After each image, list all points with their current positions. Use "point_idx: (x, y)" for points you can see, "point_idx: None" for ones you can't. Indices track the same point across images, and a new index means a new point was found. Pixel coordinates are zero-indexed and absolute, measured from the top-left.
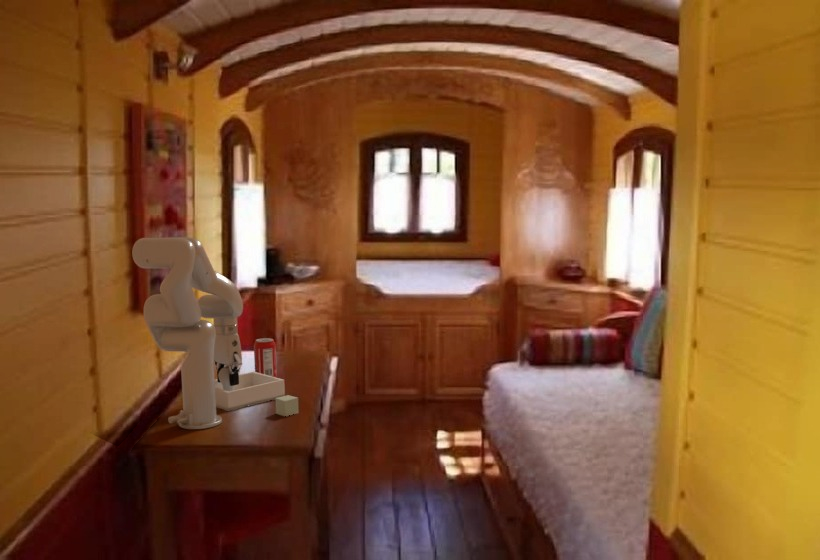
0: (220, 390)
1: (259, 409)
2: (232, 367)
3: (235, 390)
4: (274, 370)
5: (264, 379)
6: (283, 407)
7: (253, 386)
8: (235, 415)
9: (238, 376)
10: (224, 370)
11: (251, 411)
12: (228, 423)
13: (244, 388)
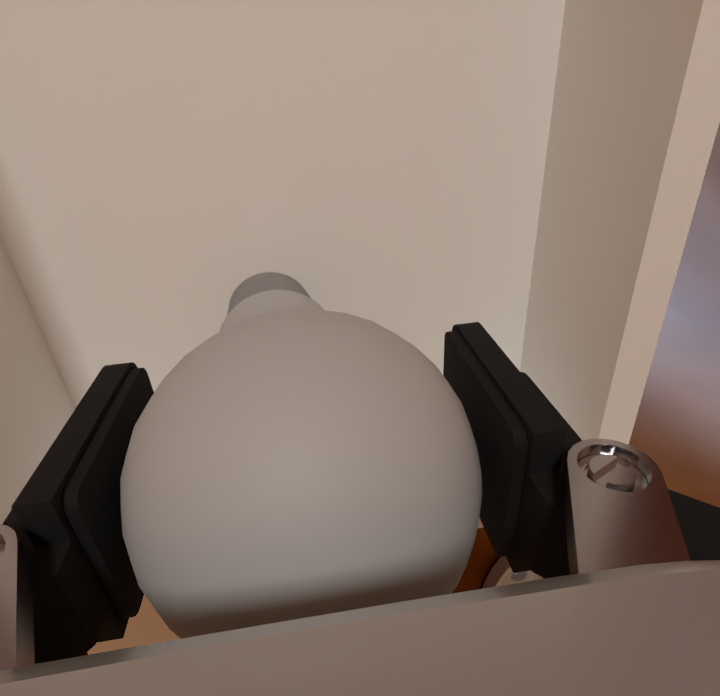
0: (480, 526)
1: (704, 199)
2: (379, 541)
3: (616, 430)
4: None
5: None
6: None
7: (686, 179)
8: (643, 402)
9: (527, 384)
10: None
11: (680, 278)
12: (716, 483)
13: (647, 324)
